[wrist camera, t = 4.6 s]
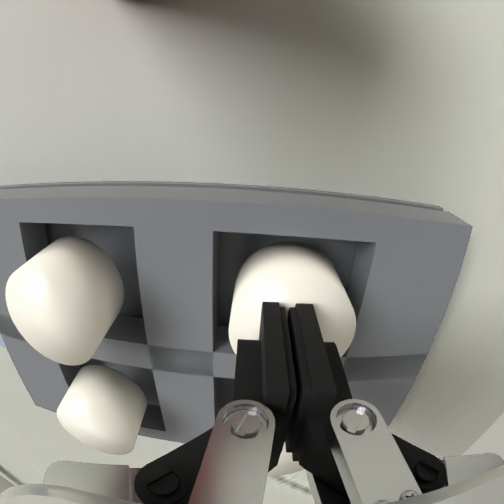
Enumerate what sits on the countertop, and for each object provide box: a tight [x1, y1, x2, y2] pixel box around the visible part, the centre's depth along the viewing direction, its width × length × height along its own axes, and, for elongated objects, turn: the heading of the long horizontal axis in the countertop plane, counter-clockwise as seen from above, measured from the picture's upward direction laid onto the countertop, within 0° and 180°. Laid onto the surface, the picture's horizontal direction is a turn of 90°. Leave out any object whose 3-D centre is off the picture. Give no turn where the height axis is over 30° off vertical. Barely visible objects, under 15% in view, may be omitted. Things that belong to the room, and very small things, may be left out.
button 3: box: [229, 241, 356, 358], centre depth 12 cm, size 4×4×3 cm
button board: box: [0, 181, 472, 443], centre depth 15 cm, size 30×15×3 cm, turn 87°
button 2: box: [57, 365, 147, 455], centre depth 14 cm, size 4×4×3 cm
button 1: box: [5, 236, 125, 366], centre depth 11 cm, size 4×4×3 cm
